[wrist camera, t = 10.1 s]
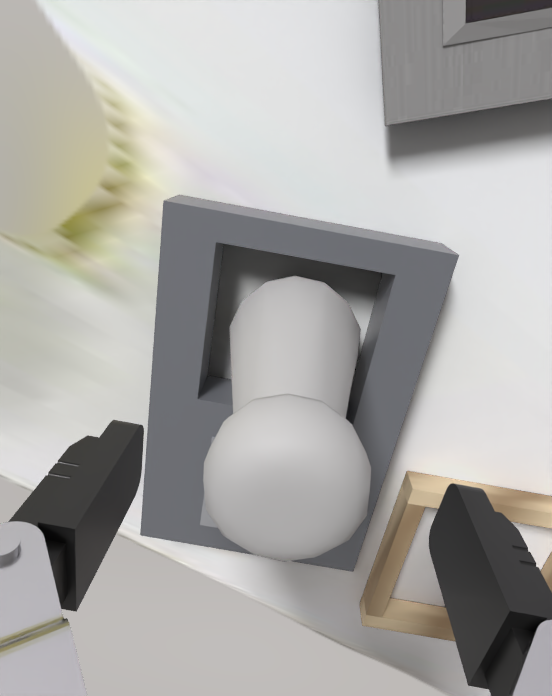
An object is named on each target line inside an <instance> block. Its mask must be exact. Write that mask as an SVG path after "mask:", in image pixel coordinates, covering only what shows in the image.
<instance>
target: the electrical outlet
mask: <svg viewBox="0 0 552 696" xmlns="http://www.w3.org/2000/svg"><path fill="white" fill-rule="evenodd" d="M379 19H380V39H381V58H382V77H383V96H384V116H385V126H389V125H396V124H402V123H408V122H414V121H420V120H426V119H432V118H438V117H444V116H450V115H456V114H462V113H468V112H474V111H480V110H486V109H492V108H498V107H504V106H510V105H516V104H522V103H528V102H534V101H541V100H547V99H552V0H379Z"/></svg>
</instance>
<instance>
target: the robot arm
mask: <svg viewBox="0 0 552 696" xmlns="http://www.w3.org/2000/svg"><path fill="white" fill-rule="evenodd" d="M143 436H144V429H143V426H142V425H139V424H133V423H128V422H122V421H117V420H113V421H112V422H111V423H110V424H109V425H108V427H107V428H106V429H105V431H104V432H103V434H102V435H101V436H100V438H98V437H93V436H86V437H85V438H83V439H81V440H79V441H78V442H76V443H74V444H73V445H71V446H70V447H69V448H68V449H67V450H66V452H65V453H64V454H63V455H62V456H61V458H60V459H59V460H58V463H57V464H55V465H54V466H53V468H52V469H51V470H50V471H49V473H48V476H45V477H44V479H43V480H42V481H41V482H40V484H39V485H38V486H37V487H36V489H35V490H34V491H33V492H32V493H31V495H30V496H29V497H28V498H27V500H26V501H25V502H24V503H23V505H22V506H21V507H20V508H19V510H18V511H17V512H16V513H15V514H14V516H13V517H12V518H11V519H10V521H9V522H5V523H1V524H0V696H87V692H86V688H85V684H84V680H83V676H82V672H81V668H80V664H79V659H78V655H77V651H76V647H75V643H74V640H73V635H72V631H71V627H70V624H69V622H68V619H64V618H63V614H62V610H61V609H66V610H71V611H77V609H78V607H79V605H80V603H81V602H82V599H83V598H84V595H85V594H86V592H87V590H88V588H89V586H90V584H91V582H92V580H93V578H94V576H95V574H96V572H97V570H98V568H99V566H100V564H101V562H102V560H103V558H104V556H105V554H106V552H107V550H108V548H109V546H110V544H111V542H112V541H113V539H114V537H115V535H116V533H117V531H118V529H119V527H120V525H121V523H122V521H123V519H124V517H125V515H126V513H127V511H128V509H129V507H130V505H131V503H132V501H133V499H134V497H135V495H136V492H137V490H138V486H139V483H140V478H141V470H142V453H143ZM429 549H430V554H431V557H432V561H433V564H434V568H435V571H436V575H437V578H438V582H439V585H440V589H441V592H442V596H443V599H444V603H445V606H446V610H447V613H448V616H449V620H450V623H451V627H452V630H453V634H454V637H455V641H456V644H457V648H458V651H459V655H460V658H461V662H462V665H463V669H464V672H465V676H466V679H467V683H468V685H469V686H474V687H479V688H485V689H489V690H490V693H491V696H552V592H551V590H550V588H549V586H548V585H547V583H546V581H545V579H544V577H543V575H542V573H541V571H540V570H539V568H538V567H536V562H535V560H534V558H533V556H532V555H531V553H530V552H528V547H527V545H526V543H525V542H524V540H523V538H522V536H521V534H520V532H519V530H518V529H517V528H516V527H515V526H514V525H513V524H512V523H511V522H510V521H509V520H508V519H507V518H506V517H505V516H504V515H503V513H500V512H495V511H494V509H493V507H492V505H491V503H490V501H489V499H488V497H487V495H486V493H485V491H484V490H483V489H481V488H476V487H471V486H465V485H460V484H454V483H451V484H450V485H449V486H448V487H447V489H446V492H445V494H444V497H443V499H442V501H441V504H440V506H439V509H438V511H437V514H436V516H435V519H434V521H433V524H432V526H431V529H430V535H429Z"/></svg>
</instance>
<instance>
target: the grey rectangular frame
mask: <svg viewBox="0 0 552 696" xmlns="http://www.w3.org/2000/svg"><path fill="white" fill-rule="evenodd" d="M224 244H229V245H234V246H240V247H245V248H251V249H256V250H262V251H267V252H272V253H278V254H283V255H289V256H294V257H300V258H305V259H311V260H316V261H322V262H327V263H332V264H338V265H343V266H349V267H354V268H360V269H365V270H371V271H376V272H382V277H381V281H380V284H379V288H378V292H377V295H376V299H375V303H374V307H373V310H372V314H371V318H370V321H369V325H368V329H367V332H366V336H365V340H364V343H363V347H362V351H361V354H360V358H359V362H358V366H357V369H356V373H355V377H354V380H353V384H352V388H351V391H350V395H349V401H348V407H347V413H346V419H347V420H348V421H349V422H350V423H351V424H352V425H353V427H354V429H355V431H356V433H357V435H358V437H359V439H360V441H361V443H362V445H363V447H364V449H365V451H366V453H367V457H368V460H369V463H370V466H371V480H370V492H369V501H368V509H367V516H366V517H365V519H364V520H363V521H362V523H361V524H360V526H359V527H358V528H357V530H356V531H355V533H354V534H353V535H352V537H351V538H350V539H349V540H348V541H346V542H344V543H342V544H341V545H339V546H337V547H335V548H333V549H331V550H329V551H327V552H325V553H323V554H321V555H319V556H317V557H314V558H306V559H299V560H292V561H294V562H300V563H305V564H311V565H317V566H323V567H329V568H335V569H341V570H346V571H352V572H353V571H354V568H355V565H356V562H357V559H358V556H359V553H360V550H361V547H362V544H363V541H364V538H365V535H366V532H367V529H368V526H369V523H370V520H371V517H372V514H373V511H374V508H375V505H376V502H377V499H378V496H379V493H380V490H381V487H382V484H383V481H384V478H385V475H386V472H387V469H388V466H389V463H390V460H391V457H392V454H393V451H394V448H395V445H396V442H397V439H398V436H399V433H400V430H401V427H402V424H403V421H404V418H405V415H406V412H407V409H408V406H409V403H410V400H411V397H412V394H413V391H414V388H415V385H416V382H417V379H418V376H419V373H420V370H421V367H422V364H423V361H424V358H425V355H426V352H427V349H428V346H429V343H430V340H431V337H432V334H433V331H434V328H435V326H436V323H437V320H438V317H439V314H440V311H441V308H442V305H443V302H444V299H445V296H446V293H447V290H448V287H449V284H450V281H451V278H452V275H453V272H454V269H455V266H456V263H457V260H458V257H459V255H458V254H457V253H455V252H454V251H452V250H451V249H449V248H448V247H446V246H445V245H444V244H442V243H437V242H432V241H426V240H421V239H416V238H410V237H405V236H399V235H394V234H389V233H383V232H378V231H372V230H367V229H362V228H356V227H351V226H345V225H340V224H335V223H329V222H324V221H318V220H313V219H308V218H302V217H297V216H291V215H286V214H281V213H275V212H270V211H264V210H259V209H253V208H248V207H243V206H237V205H232V204H226V203H221V202H216V201H210V200H205V199H199V198H194V197H189V196H183V195H177V196H175V197H172V198H169V199H167V200H164V203H163V217H162V232H161V246H160V260H159V275H158V289H157V304H156V318H155V332H154V347H153V361H152V375H151V390H150V404H149V419H148V433H147V447H146V462H145V476H144V490H143V505H142V519H141V533H140V535H142V536H148V537H153V538H159V539H165V540H171V541H177V542H183V543H189V544H194V545H200V546H206V547H212V548H218V549H224V550H229V551H235V552H241V553H247V554H252V553H251V552H249V551H247V550H246V549H244V548H242V547H241V546H239V545H238V544H236V543H234V542H233V541H231V540H229V539H228V538H226V537H225V536H223V534H222V533H221V531H220V530H219V528H218V527H217V525H216V524H215V522H214V521H213V519H212V518H211V516H210V515H209V513H208V512H207V510H206V503H205V493H204V483H203V474H204V461H205V459H206V456H207V454H208V451H209V449H210V446H211V445H212V443H213V441H214V439H215V437H216V435H217V433H218V431H219V429H220V428H221V426H222V424H223V422H224V421H225V420H226V419H227V418H228V417H229V416H231V415H232V414H233V397H232V380H230V379H225V378H219V377H214V376H208V367H209V359H210V351H211V343H212V335H213V327H214V319H215V311H216V303H217V295H218V287H219V279H220V271H221V263H222V255H223V247H224ZM253 555H254V554H253Z"/></svg>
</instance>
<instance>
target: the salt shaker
mask: <svg viewBox="0 0 552 696" xmlns="http://www.w3.org/2000/svg"><path fill="white" fill-rule="evenodd" d="M360 330H361V329H360V327H359V324H358V322H357V320H356V318H355V316H354V314H353V312H352V310H351V307H350V305H349V303H348V302H347V301H346V300H345V299H344V298H342V297H341V296H340V295H339V294H338V293H336V292H335V291H334V290H333V289H332V288H330V287H329V286H328V285H327V284H326V283H324V282H321V281H317V280H312V279H308V278H303V277H299V276H291V277H286V278H281V279H276V280H271V281H267V282H265V283H264V284H263V285H261V286H260V287H259V288H258V289H256V290H255V291H254V292H252V293H251V294H250V295H249V296H247V297H246V298H245V299H244V300H243V301H242V302H241V304H240V306H239V308H238V310H237V312H236V314H235V317H234V319H233V321H232V323H231V325H230V348H231V373H232V397H233V414H232V415H231V416H229V417H228V418H227V419H226V420H225V421H224V422H223V424H222V426H221V428H220V429H219V431H218V433H217V435H216V437H215V439H214V441H213V443H212V445H211V446H210V449H209V451H208V454H207V456H206V459H205V461H204V474H203V483H204V493H205V503H206V510H207V512H208V513H209V515H210V516H211V518H212V519H213V521H214V522H215V524H216V525H217V527H218V528H219V530H220V531H221V533H222V534H223V536H225V537H226V538H228V539H229V540H231V541H233V542H234V543H236V544H238V545H239V546H241V547H242V548H244V549H246V550H247V551H249V552H251V553H252V554H254V555H257V556H262V557H266V558H271V559H275V560H280V561H292V560H299V559H306V558H314V557H317V556H319V555H321V554H323V553H325V552H327V551H329V550H331V549H333V548H335V547H337V546H339V545H341V544H342V543H344V542H346V541H348V540H349V539H350V538H351V537H352V535H353V534H354V533H355V531H356V530H357V528H358V527H359V526H360V524H361V523H362V521H363V520H364V519H365V517H366V516H367V509H368V501H369V492H370V480H371V466H370V463H369V460H368V457H367V453H366V451H365V449H364V447H363V445H362V443H361V441H360V439H359V437H358V435H357V433H356V431H355V429H354V427H353V425H352V424H351V423H350V422H349V421H348V420H347V419H346V413H347V407H348V401H349V395H350V390H351V386H352V381H353V376H354V372H355V367H356V362H357V358H358V350H359V340H360Z"/></svg>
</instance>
